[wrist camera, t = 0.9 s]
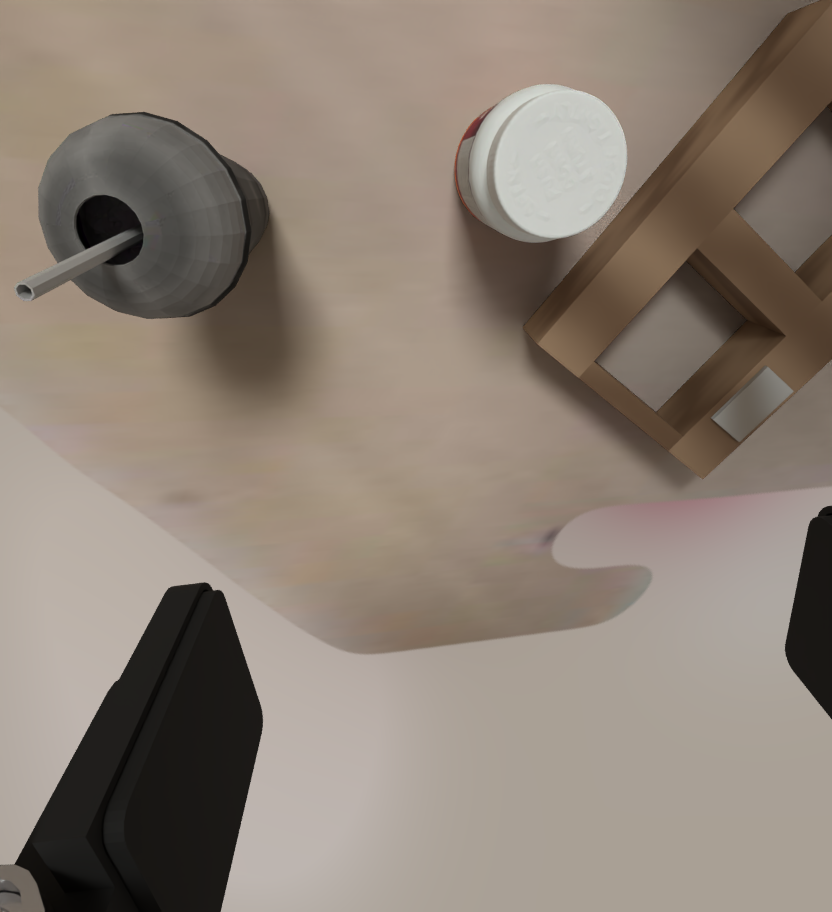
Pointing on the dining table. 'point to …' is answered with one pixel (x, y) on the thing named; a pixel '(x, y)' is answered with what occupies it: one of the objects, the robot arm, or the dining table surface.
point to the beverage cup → (146, 217)
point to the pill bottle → (542, 163)
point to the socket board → (713, 258)
